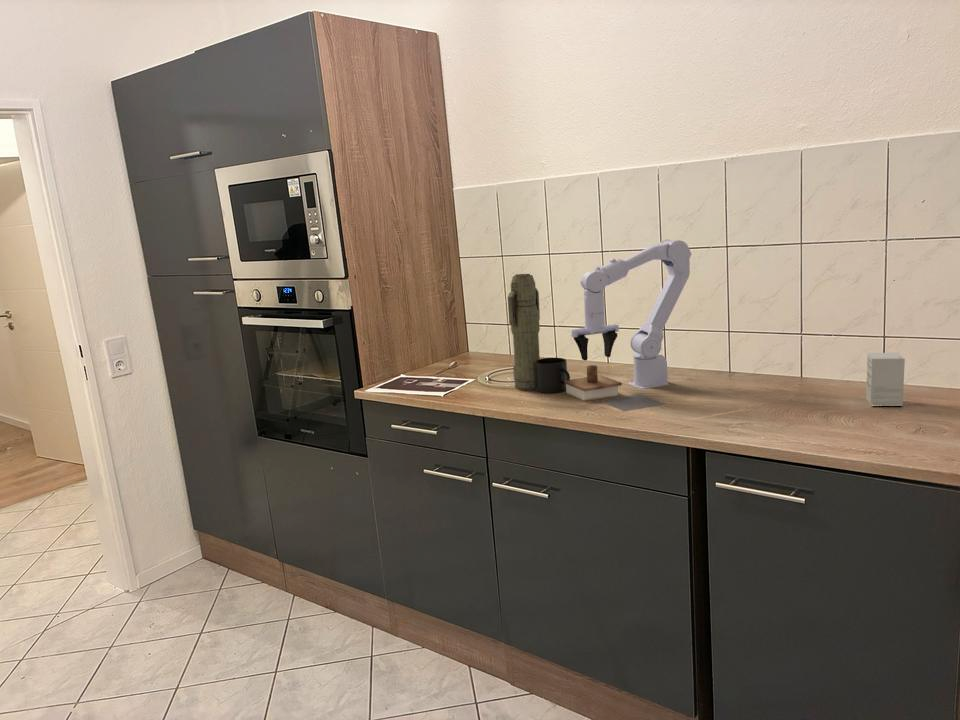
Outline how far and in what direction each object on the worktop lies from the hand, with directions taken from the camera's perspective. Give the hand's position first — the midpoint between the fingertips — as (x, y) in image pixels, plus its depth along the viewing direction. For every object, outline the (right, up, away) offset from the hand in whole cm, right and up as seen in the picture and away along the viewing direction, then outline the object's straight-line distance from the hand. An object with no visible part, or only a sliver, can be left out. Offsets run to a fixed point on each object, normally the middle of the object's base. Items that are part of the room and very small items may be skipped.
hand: (596, 358), depth 217 cm
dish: (-2, -11, -3) cm, 11 cm away
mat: (+8, -13, -14) cm, 21 cm away
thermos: (-19, -9, +13) cm, 25 cm away
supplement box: (+68, -12, -30) cm, 76 cm away
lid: (-2, -8, -4) cm, 9 cm away
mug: (-11, -10, +6) cm, 16 cm away
